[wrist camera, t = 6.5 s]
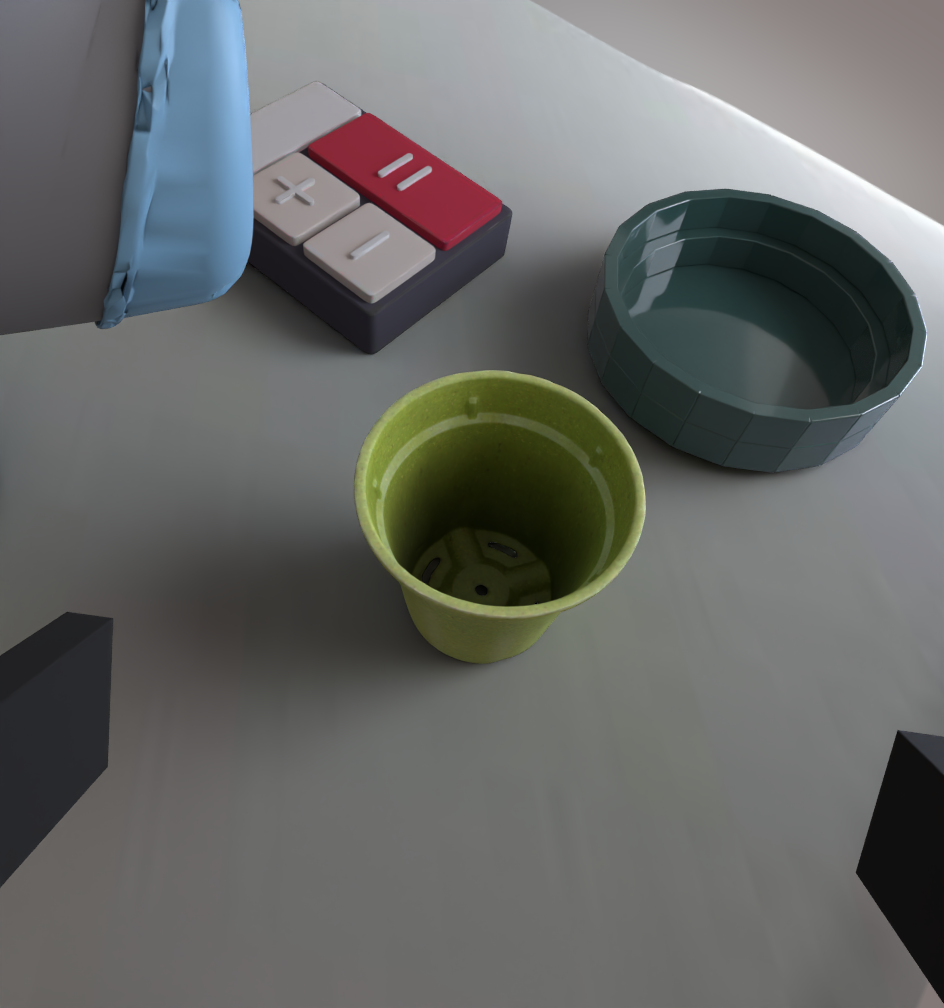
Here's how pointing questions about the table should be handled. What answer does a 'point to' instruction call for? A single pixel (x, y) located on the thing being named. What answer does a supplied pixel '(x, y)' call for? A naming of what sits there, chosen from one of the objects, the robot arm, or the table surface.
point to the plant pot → (497, 506)
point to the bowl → (752, 329)
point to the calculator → (363, 217)
